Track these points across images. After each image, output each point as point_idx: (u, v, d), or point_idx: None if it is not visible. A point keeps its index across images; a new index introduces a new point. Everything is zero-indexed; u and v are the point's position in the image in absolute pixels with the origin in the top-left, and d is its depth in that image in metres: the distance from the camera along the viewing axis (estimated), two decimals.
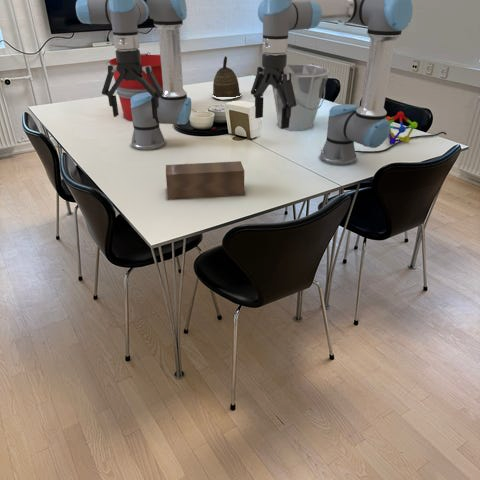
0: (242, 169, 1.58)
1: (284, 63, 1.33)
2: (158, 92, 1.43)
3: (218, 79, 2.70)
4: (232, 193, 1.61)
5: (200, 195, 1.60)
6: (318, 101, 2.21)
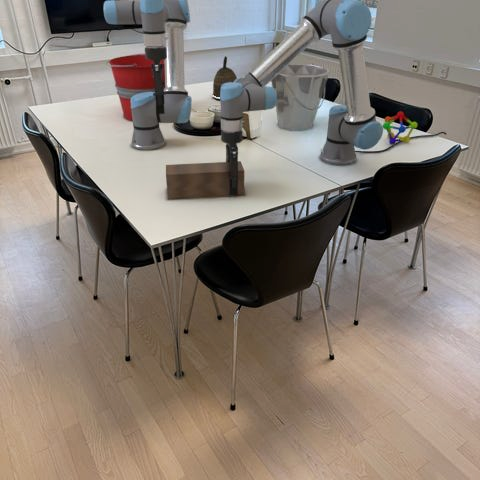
0: (242, 169, 1.58)
1: None
2: None
3: (218, 79, 2.70)
4: None
5: (200, 195, 1.60)
6: (318, 101, 2.21)
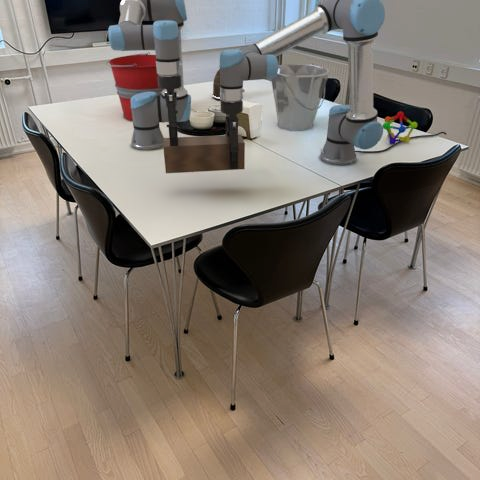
0: (242, 141, 1.53)
1: None
2: (175, 107, 1.56)
3: (218, 79, 2.70)
4: None
5: (199, 169, 1.55)
6: (318, 101, 2.21)
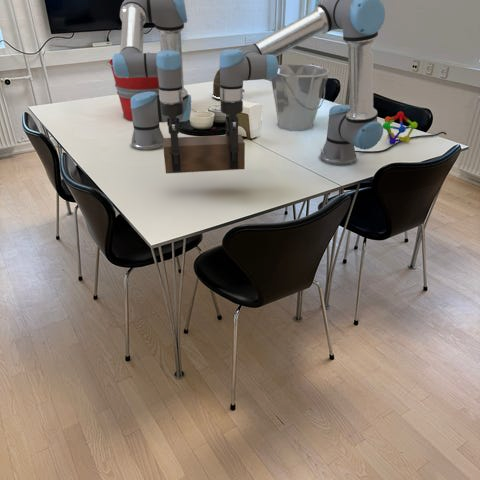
0: (242, 141, 1.53)
1: None
2: None
3: (218, 79, 2.70)
4: None
5: (199, 169, 1.55)
6: (318, 101, 2.21)
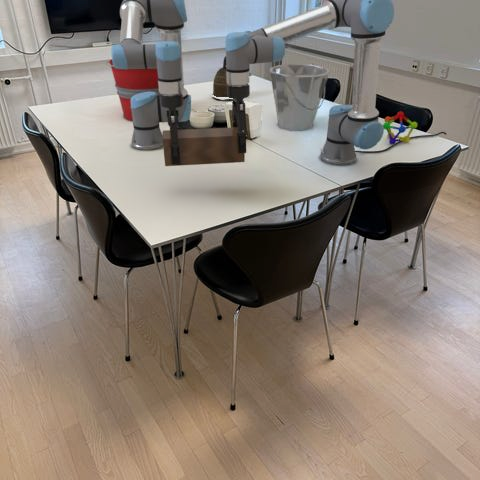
0: None
1: None
2: None
3: (218, 79, 2.70)
4: (232, 160, 1.55)
5: (199, 162, 1.53)
6: (318, 101, 2.21)
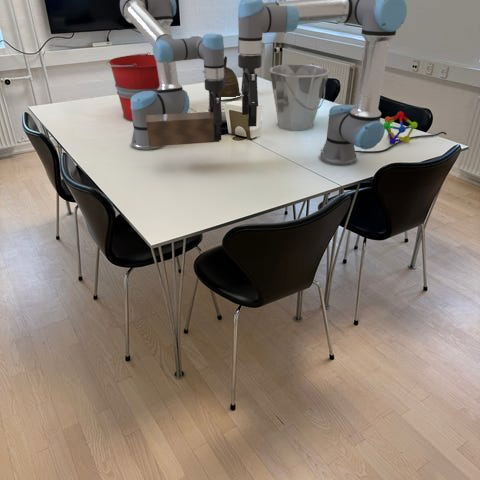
0: (147, 116, 1.73)
1: None
2: (215, 120, 1.69)
3: None
4: None
5: None
6: (318, 101, 2.21)
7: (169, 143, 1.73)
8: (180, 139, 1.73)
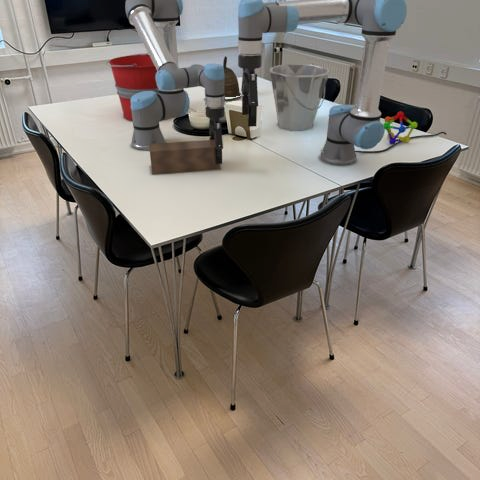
0: (150, 144, 1.79)
1: None
2: (216, 145, 1.72)
3: None
4: None
5: None
6: (318, 101, 2.21)
7: (171, 171, 1.79)
8: (182, 167, 1.79)
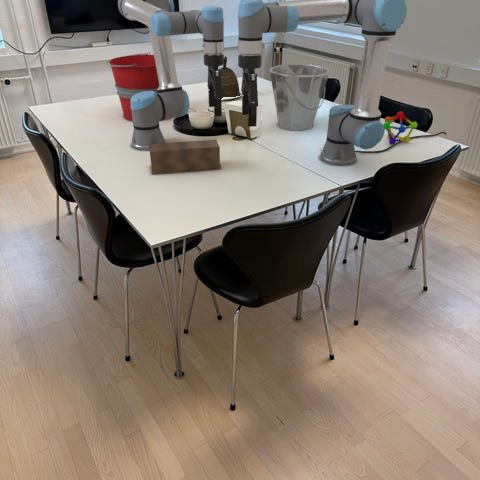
0: (150, 144, 1.79)
1: None
2: (215, 94, 1.62)
3: None
4: None
5: None
6: (318, 101, 2.21)
7: (171, 171, 1.79)
8: (182, 167, 1.79)
